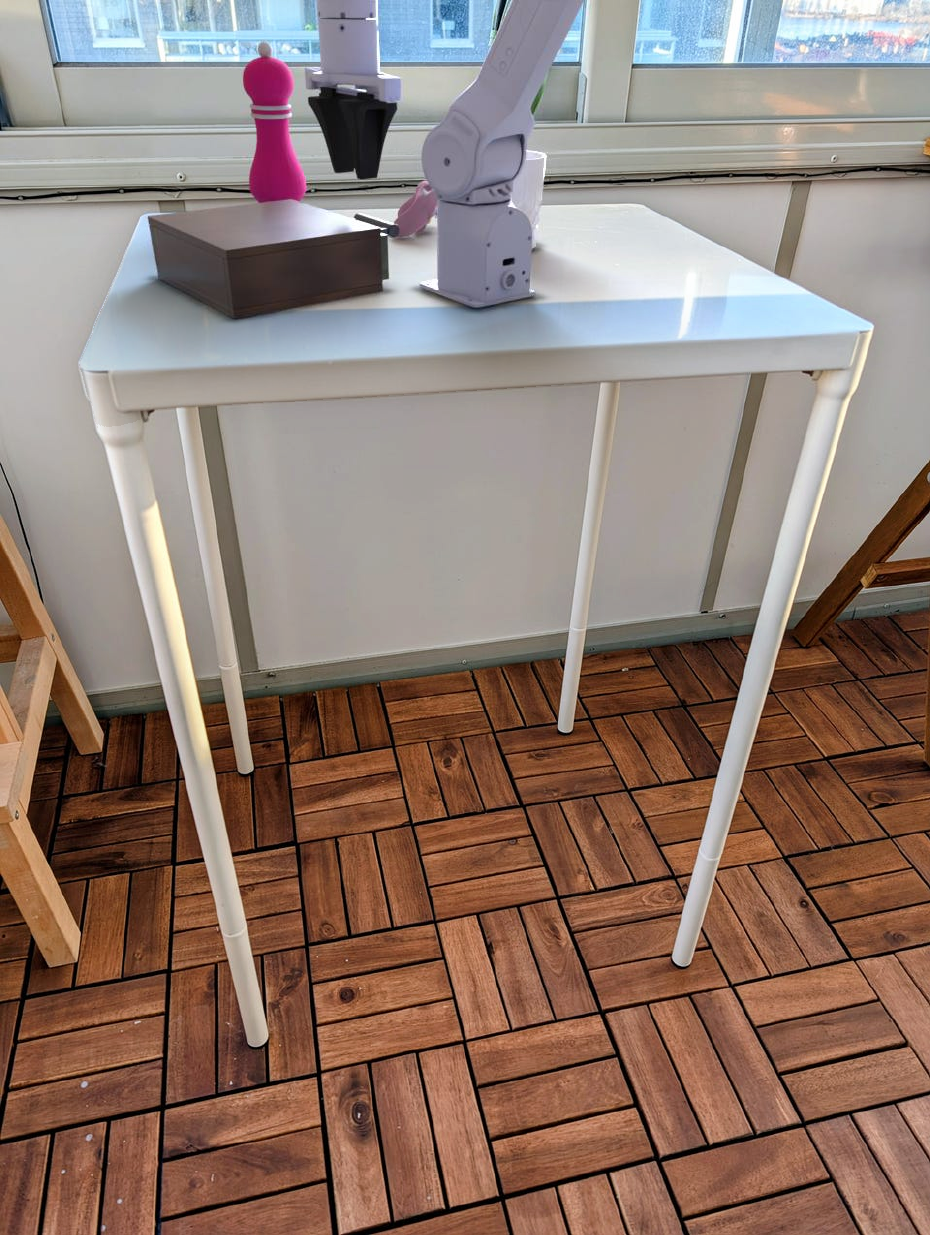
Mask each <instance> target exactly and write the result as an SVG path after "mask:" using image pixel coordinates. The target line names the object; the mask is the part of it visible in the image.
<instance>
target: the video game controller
mask: <svg viewBox="0 0 930 1235" xmlns="http://www.w3.org/2000/svg"><path fill="white" fill-rule="evenodd" d="M414 191H415V193H414V194H413V195H412V196H411V197H410V198H408V199H407V200H406V201H405V202H404V203H402V204H401V206H400V207H399V209H398V211H397V218H396V219H395V220H394V222H393V223H394V224H397V225H398V227H399V235H398V236H397V237H396V238H400V239H401V238H407V237H409V236H412V235H414V234H415V233H419V234H423V233H424V231H425V230H426V227H427V226H428V224H430V223H431V222H432V219H433V217H434V219H437V200H436V199H434V190H433V189H432V188H431V186H430V185H429V183H428V182H427V180H426V179H425V180H423V181H420V182H419V183H418V184H417V186H416V188H415V190H414Z"/></svg>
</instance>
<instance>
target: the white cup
mask: <svg viewBox="0 0 930 1235" xmlns="http://www.w3.org/2000/svg"><path fill="white" fill-rule="evenodd" d="M546 161H547V155H546V154H545V153H543V152H539V151H535V150H527V152H526V161H525V165H524V167H523V170H522V172H521V174H520V175H519V176H518V178H517V179H516V180H514V181H513V193H512V194H511V200H512V203H513V205H514V206H515V207H516V208H517V209H519V210H521V211H522V212H524V213H525V214H526V216H527V217H528V219H529V221H530V224H531V228H532V250H533V249H535V248H536V246H537V240H538V229H539V227H538V225H539V222H540V218H541V217H540V216H541V207H542V200H543V190H544V183H545V182H544V181H545V173H546V172H545V171H546V163H547V162H546Z"/></svg>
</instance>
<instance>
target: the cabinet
mask: <svg viewBox="0 0 930 1235" xmlns="http://www.w3.org/2000/svg"><path fill="white" fill-rule="evenodd" d="M352 218H353V217H349V216H345V215H343V214H339V213H336V212H333V211H330V210H327V209H323V208H321V207H318V206H314V205H311V204H308V203H305V202H302V201H300V202H299V201H296V200H293V199H288V200H280V201H271V202H263V203H259V202H255V203H248V204H239V205H229V206H221V207H214V208H213V207H212V208H205V209H197V210H196V209H195V210H189V211H180V212H171V213H163V214H156V215H155V214H154V215H147V222H148V227H149V233H150V238H151V245H152V249H153V256H154V262H155V267H156V274H157V278H158V279H159V280H161V281H163V282H165V283H167V284H168V285H170V286H172V287H174V288H176V289H178V290H180V291H181V292H183V293H185V294H187V295H188V296H191V297H192V298H195V299H196V300H199V302H201V303H204V304H205V305H207V306H209V307H211V308H213V309H215V310H217V311H219V312H220V313H222V314H224V315H226V316H228V317H230V318H232V319H233V320H238V319H243V318H248V317H254V316H259V315H265V314H270V313H276V312H281V311H285V310H290V309H296V308H301V307H307V306H312V305H313V306H314V305H317V304H318V305H319V304H322V303H328V302H334V301H338V300H344V299H349V298H354V297H360V296H365V295H370V294H375V293H380V292H384V287H383V285H384V284H383V281H384V280H383V278H382V249H381V228H380V227H376V226H373V225H370V224H367V223H364V222H361V221H358V220H355V219H352Z"/></svg>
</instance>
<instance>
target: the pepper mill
mask: <svg viewBox="0 0 930 1235" xmlns="http://www.w3.org/2000/svg"><path fill="white" fill-rule="evenodd" d="M257 53H258V55H259V57H256V58H254V59H252V60H250V61H249V62H248V63H247V64H246V66H245V67H244V70H243V74H242V84H243V85H242V86H243V89H244V91H245V93H246V94H247V96H248V97H249V99H250V100H251V102H252V103H251V104H249V108H250V117H251V118H253V119H254V125H255V130H256V132H255V133H256V144H255V152H254V156H253V160H252V163H251V166H250V170H249V175H248V188H249V192H250V194H251V195H252V197H253V198H254V199H255V200H256V201H257V203H263V202H271V201H280V200H288V199H293V200H296V201H299V202H302V199H304V196H305V194H307V193H306V192H307V182H306V181H307V180H306V176H305V174H304V171H303V167H302V166H301V163H300V160H299V159H298V157H297V155H296V152H295V150H294V147H293V144H292V139H291V134H290V118H292V116H293V114H292V110H291V108H292V105H291V104H290V103H289V99H290V97H291V96H292V94H293V93H294V88H295V86H294V85H295V84H294V78H293V74H292V72H291V70H290V68H289V67H288V65H287V64H286V63H285V62H284V61H283V60H281V59H278V58H276V57H272V56H273V54H274V48H273V46H272V44H271V43H270V42H268V41H261V42H259V44H258V46H257Z"/></svg>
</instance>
